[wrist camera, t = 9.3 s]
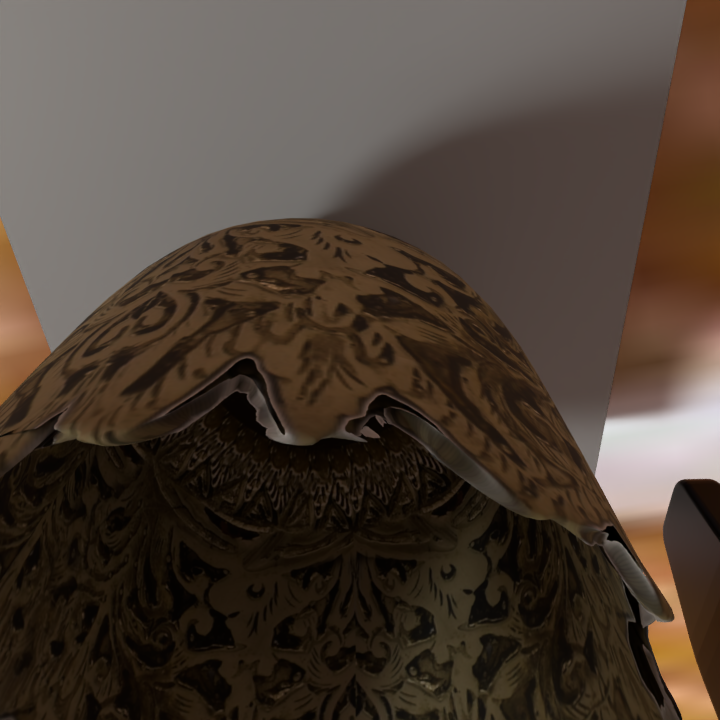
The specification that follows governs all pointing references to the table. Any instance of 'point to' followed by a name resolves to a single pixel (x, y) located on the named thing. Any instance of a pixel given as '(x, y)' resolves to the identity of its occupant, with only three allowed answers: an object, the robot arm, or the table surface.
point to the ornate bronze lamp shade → (309, 504)
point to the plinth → (347, 148)
